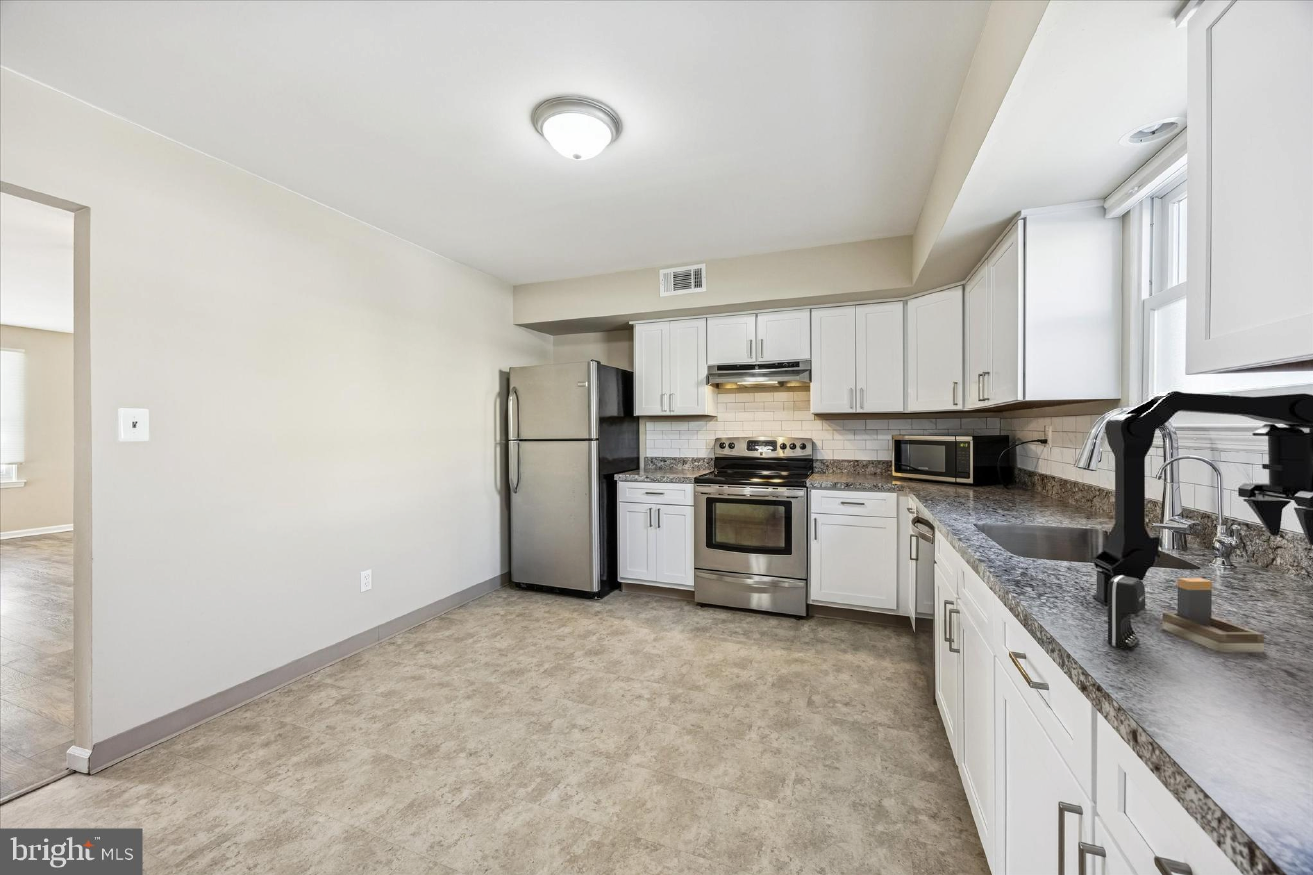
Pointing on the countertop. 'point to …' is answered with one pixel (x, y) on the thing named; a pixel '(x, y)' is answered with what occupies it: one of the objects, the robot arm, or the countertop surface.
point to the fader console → (1215, 634)
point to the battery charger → (1124, 610)
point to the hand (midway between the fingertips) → (1293, 540)
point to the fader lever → (1195, 600)
